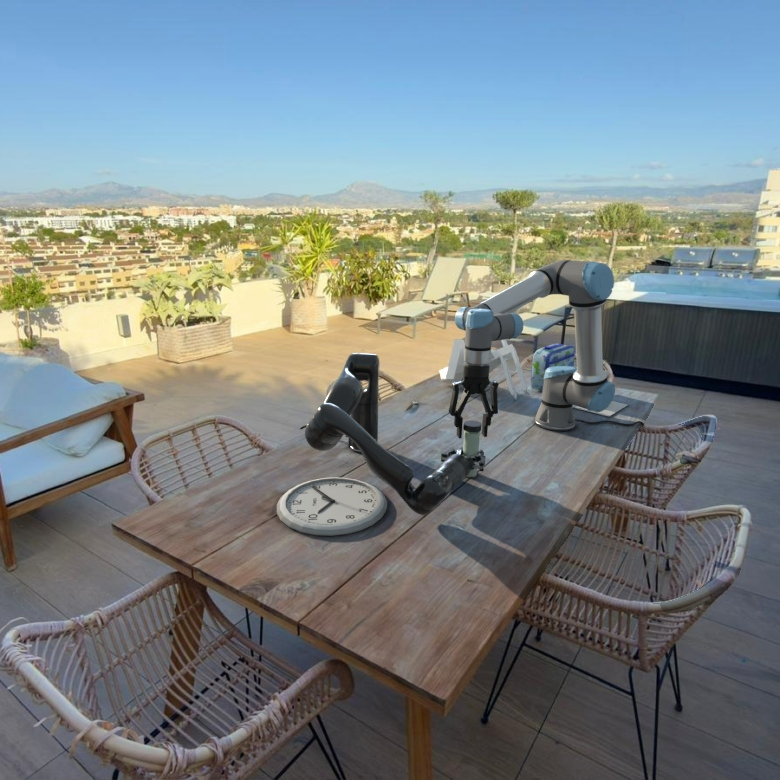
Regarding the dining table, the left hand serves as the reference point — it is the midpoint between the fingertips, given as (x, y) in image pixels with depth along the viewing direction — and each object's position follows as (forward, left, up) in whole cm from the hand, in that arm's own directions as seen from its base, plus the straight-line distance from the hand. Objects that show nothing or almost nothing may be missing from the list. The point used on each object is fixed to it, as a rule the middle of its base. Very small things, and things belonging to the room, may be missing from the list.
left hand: (473, 450), depth 163 cm
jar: (0, -3, -7) cm, 7 cm away
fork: (-44, +45, -7) cm, 63 cm away
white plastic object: (-27, +79, -7) cm, 84 cm away
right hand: (0, -3, +6) cm, 6 cm away
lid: (0, -3, +10) cm, 10 cm away
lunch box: (0, +105, -7) cm, 105 cm away
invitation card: (+26, +88, -7) cm, 92 cm away
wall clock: (-25, -40, -7) cm, 48 cm away
